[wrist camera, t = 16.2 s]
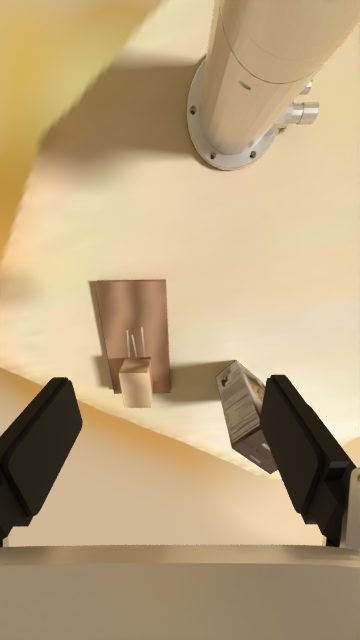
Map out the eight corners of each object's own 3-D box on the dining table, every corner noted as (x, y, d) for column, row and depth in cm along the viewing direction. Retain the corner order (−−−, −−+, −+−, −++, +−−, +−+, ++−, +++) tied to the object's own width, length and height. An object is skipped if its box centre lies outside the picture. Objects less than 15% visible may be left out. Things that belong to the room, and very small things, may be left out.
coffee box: (264, 382, 45) (306, 456, 30) (242, 399, 47) (271, 476, 32) (236, 358, 42) (266, 426, 28) (213, 377, 44) (231, 450, 29)
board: (165, 279, 36) (165, 281, 35) (170, 388, 45) (170, 392, 44) (97, 280, 36) (94, 282, 35) (116, 388, 45) (114, 393, 44)
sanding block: (151, 357, 40) (147, 372, 36) (153, 389, 44) (150, 407, 39) (125, 357, 40) (118, 373, 36) (130, 389, 44) (124, 407, 39)
